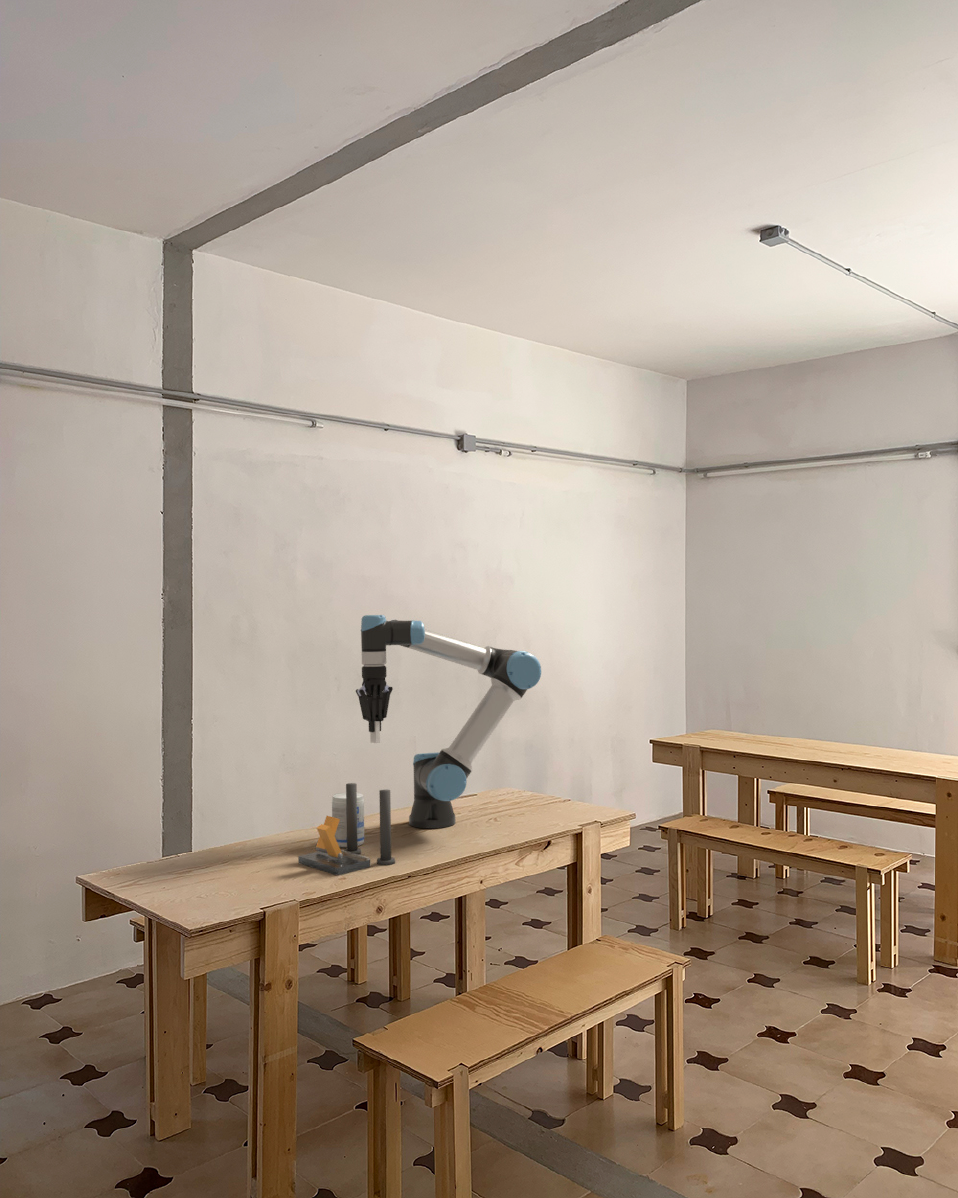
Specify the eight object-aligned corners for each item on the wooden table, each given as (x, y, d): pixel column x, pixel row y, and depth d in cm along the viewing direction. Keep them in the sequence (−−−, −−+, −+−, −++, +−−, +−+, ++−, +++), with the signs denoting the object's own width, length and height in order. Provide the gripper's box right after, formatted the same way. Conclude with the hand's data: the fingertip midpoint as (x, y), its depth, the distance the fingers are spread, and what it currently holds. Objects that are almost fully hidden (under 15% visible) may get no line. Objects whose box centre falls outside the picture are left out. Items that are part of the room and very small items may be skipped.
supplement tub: (351, 850, 283) (350, 799, 283) (325, 846, 288) (324, 796, 288) (371, 842, 291) (370, 793, 291) (345, 839, 296) (345, 791, 296)
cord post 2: (387, 859, 272) (386, 788, 272) (398, 862, 268) (397, 790, 268) (373, 863, 268) (372, 790, 268) (384, 866, 265) (383, 793, 265)
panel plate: (330, 855, 277) (330, 846, 277) (370, 867, 264) (370, 857, 264) (298, 863, 269) (298, 854, 269) (338, 875, 256) (337, 865, 256)
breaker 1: (334, 853, 267) (320, 824, 264) (343, 856, 264) (330, 826, 261) (329, 857, 266) (316, 827, 263) (339, 860, 263) (325, 830, 260)
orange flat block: (319, 851, 273) (330, 817, 276) (328, 854, 270) (340, 819, 273) (314, 850, 272) (326, 815, 275) (324, 852, 269) (335, 817, 272)
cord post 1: (353, 850, 282) (352, 781, 282) (364, 853, 279) (363, 783, 279) (340, 853, 279) (338, 784, 279) (350, 856, 275) (349, 786, 275)
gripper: (382, 663, 303) (383, 739, 303) (349, 666, 294) (350, 743, 294) (398, 664, 298) (399, 741, 298) (365, 667, 289) (366, 746, 289)
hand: (375, 742), depth 296 cm, fingers closed
